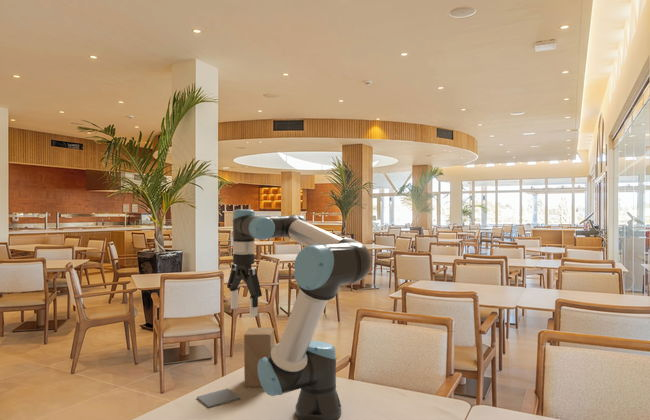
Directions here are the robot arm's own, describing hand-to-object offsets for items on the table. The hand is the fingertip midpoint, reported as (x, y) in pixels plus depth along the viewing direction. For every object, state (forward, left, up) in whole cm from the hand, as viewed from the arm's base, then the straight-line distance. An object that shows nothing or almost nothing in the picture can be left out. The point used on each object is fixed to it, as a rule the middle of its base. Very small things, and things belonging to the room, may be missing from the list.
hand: (243, 312), depth 167 cm
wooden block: (+8, -11, -31) cm, 34 cm away
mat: (+4, +8, -30) cm, 32 cm away
